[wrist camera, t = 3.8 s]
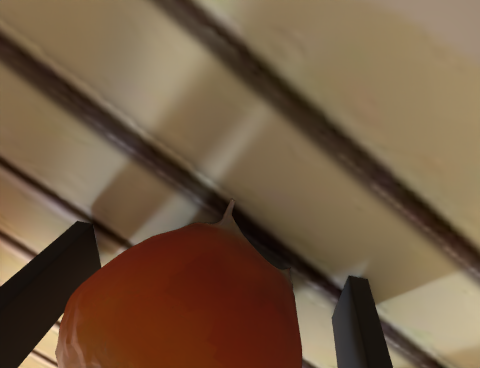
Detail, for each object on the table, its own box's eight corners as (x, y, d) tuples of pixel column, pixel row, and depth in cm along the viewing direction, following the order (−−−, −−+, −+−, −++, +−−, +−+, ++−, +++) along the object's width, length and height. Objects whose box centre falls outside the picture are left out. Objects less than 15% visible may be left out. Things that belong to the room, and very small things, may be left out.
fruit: (395, 287, 10) (311, 646, 6) (268, 282, 16) (188, 445, 12) (219, 126, 8) (-76, 467, 4) (158, 194, 15) (24, 347, 11)
